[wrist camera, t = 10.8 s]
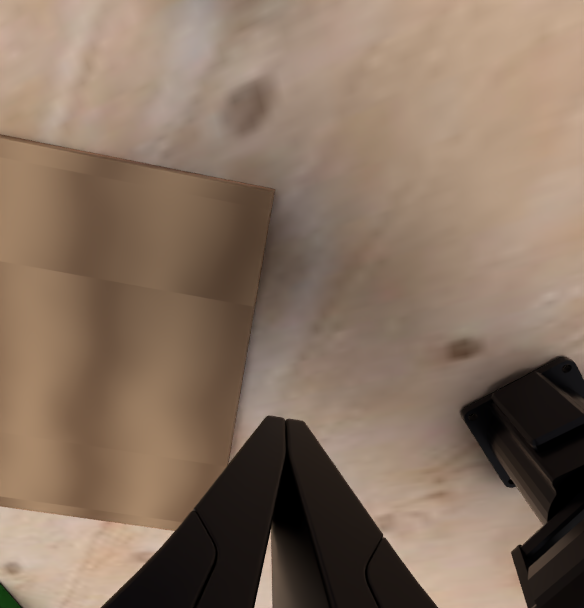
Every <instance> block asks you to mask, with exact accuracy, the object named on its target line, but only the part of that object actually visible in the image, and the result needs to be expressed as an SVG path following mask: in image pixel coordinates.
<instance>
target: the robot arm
mask: <svg viewBox="0 0 584 608" xmlns="http://www.w3.org/2000/svg"><path fill="white" fill-rule="evenodd" d="M564 365H566V367H565V368H564V369H562V368H563V366H564ZM473 413H474V415H473V416H471V417H469V415H470V414H473ZM461 416H462V418H463V420H464V421H465V423H466V424H467V426H468V427H469V429H470V431H471V432H472V434H473V435H474V437H475V439H476V440H477V442H478V443H479V445H480V447H481V448H482V450H483V451H484V453H485V454H486V456H487V458H488V459H489V461H490V462H491V464H492V466H493V467H494V469H495V470H496V472H497V474H498V475H499V477H500V478H501V480H502V481H503V483H504V484H505V485H506V486H507V487H509V488H513V487H517V488H518V490H519V491H520V492H521V494H522V495H523V497H524V498H525V500H526V501H527V503H528V504H529V505H530V507H531V508H532V510H533V511H534V513H535V514H536V516H537V517H538V518H539V520H540V521H541V523H542V524H543V527H541V528H540V529H539V530H538V531H537V532H536V533H535V534H534V535H533V536H532V537H531V538H530V539H528V540H527V541H526V542H525V543H524V544H523V545H518V546H517V547H516V548H515V549H514V550H513V551H512V552H511V554H512V558H513V561H514V564H515V567H516V571H517V574H518V577H519V581H520V584H521V587H522V590H523V594H524V597H525V600H526V604H527V607H528V608H584V380H583V378H582V376H581V374H580V371H579V369H578V367H577V365H576V364H575V362H574V361H572V360H571V359H569V358H567V357H561V358H558V359H556V360H554V361H552V362H550V363H548V364H547V365H545V366H543V367H541V368H539V369H537V370H535V371H533V372H531V373H529V374H528V375H526V376H524V377H522V378H520V379H518V380H516V381H514V382H512V383H510V384H508V385H507V386H505V387H503V388H501V389H499V390H497V391H495V392H493V393H491V394H489V395H488V396H486V397H484V398H482V399H480V400H478V401H476V402H474V403H472V404H470V405H469V406H467V407H465V408H464V409H463V410H462V412H461ZM510 478H511V479H510ZM270 530H271V556H272V604H273V608H438V607H437V606H436V604H435V603H434V602H433V601H432V599H431V598H430V597H429V596H428V594H427V593H426V592H425V591H424V589H423V588H422V587H421V586H420V584H419V583H418V582H417V581H416V579H415V578H414V577H413V575H412V574H411V573H410V571H409V570H408V569H407V567H406V566H405V564H404V563H403V562H402V560H401V559H400V558H399V556H398V555H397V554H396V552H395V551H394V549H393V548H392V546H391V545H390V543H389V542H388V541H387V539H386V538H383V534H382V532H381V531H380V529H379V528H378V527H377V525H376V524H375V522H374V521H373V519H372V518H371V517H370V515H369V514H368V512H367V511H366V509H365V508H364V507H363V505H362V504H361V502H360V501H359V499H358V498H357V496H356V495H355V494H354V492H353V491H352V489H351V488H350V486H349V485H348V484H347V482H346V481H345V479H344V478H343V476H342V475H341V474H340V472H339V471H338V469H337V468H336V466H335V465H334V464H333V462H332V461H331V459H330V458H329V456H328V455H327V453H326V452H325V451H324V449H323V448H322V446H321V445H320V443H319V442H318V441H317V439H316V438H315V436H314V435H313V433H312V432H311V431H310V429H309V428H308V426H307V425H306V423H305V422H304V421H301V420H294V419H286V421H285V419H284V418H282V417H275V416H267V417H266V418H265V419H264V420H263V421H262V423H261V424H260V425H259V426H258V428H257V429H256V430H255V431H254V433H253V434H252V435H251V436H250V438H249V439H248V440H247V441H246V443H245V444H244V445H243V447H242V448H241V449H240V450H239V452H238V453H237V454H236V455H235V457H234V458H233V459H232V460H231V462H230V463H229V464H228V465H227V467H226V468H225V469H224V471H223V472H222V473H221V474H220V476H219V477H218V478H217V479H216V481H215V482H214V483H213V484H212V486H211V487H210V488H209V489H208V491H207V492H206V493H205V494H204V496H203V497H202V498H201V500H200V501H199V502H198V503H197V505H196V506H195V507H194V509H193V511H191V512H190V513H189V514H188V516H187V517H186V518H185V519H184V521H183V522H182V523H181V524H180V526H179V527H178V528H177V529H176V530H175V532H174V533H173V534H172V535H171V536H170V537H169V539H168V540H167V541H166V542H165V543H164V544H163V546H162V547H161V548H160V549H159V550H158V551H157V552H156V553H155V554H154V555H153V556H152V557H151V558H150V559H149V560H148V561H147V562H146V563H145V564H144V565H143V567H142V568H141V569H140V570H139V571H138V572H137V573H136V574H135V575H134V576H133V577H132V578H131V579H130V580H128V581H127V582H126V583H125V584H124V585H123V586H122V587H121V588H120V589H119V590H118V591H117V592H116V593H115V594H114V595H113V596H112V597H111V598H110V599H109V600H108V601H107V602H106V603H105V604H104V605H103V606H102V607H101V608H254V606H255V601H256V596H257V592H258V587H259V582H260V577H261V573H262V568H263V563H264V559H265V554H266V549H267V545H268V540H269V535H270Z"/></svg>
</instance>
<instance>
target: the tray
mask: <svg viewBox="0 0 584 608" xmlns="http://www.w3.org/2000/svg"><path fill="white" fill-rule="evenodd" d="M274 192H275V189H271V188H266V187H261V186H256V185H251V184H246V183H241V182H236V181H231V180H226V179H221V178H216V177H211V176H206V175H201V174H196V173H191V172H186V171H181V170H176V169H171V168H166V167H161V166H156V165H151V164H146V163H141V162H136V161H131V160H126V159H121V158H115V157H110V156H105V155H100V154H95V153H90V152H85V151H80V150H75V149H70V148H65V147H60V146H55V145H50V144H45V143H40V142H35V141H30V140H25V139H20V138H15V137H10V136H5V135H0V506H2V507H9V508H16V509H23V510H30V511H37V512H44V513H51V514H59V515H66V516H73V517H80V518H87V519H94V520H101V521H108V522H115V523H123V524H130V525H137V526H144V527H151V528H158V529H165V530H172V531H175V530H176V529H177V528H178V527H179V526H180V524H181V523H182V522H183V521H184V519H185V518H186V517H187V516H188V514H189V513H190V512H191V511H193V509H194V507H195V506H196V505H197V503H198V502H199V501H200V500H201V498H202V497H203V496H204V494H205V493H206V492H207V491H208V489H209V488H210V487H211V486H212V484H213V483H214V482H215V481H216V479H217V478H218V477H219V476H220V474H221V473H222V472H223V471H224V469H225V468H226V467H227V465H228V462H229V456H230V450H231V444H232V438H233V432H234V427H235V421H236V415H237V409H238V403H239V397H240V391H241V386H242V380H243V374H244V368H245V362H246V356H247V351H248V345H249V339H250V333H251V327H252V321H253V315H254V310H255V304H256V298H257V292H258V286H259V280H260V274H261V269H262V263H263V257H264V251H265V245H266V239H267V233H268V228H269V222H270V216H271V210H272V204H273V198H274Z"/></svg>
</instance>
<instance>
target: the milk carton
mask: <svg viewBox="0 0 584 608" xmlns="http://www.w3.org/2000/svg"><path fill="white" fill-rule="evenodd" d="M0 608H21V607H20V606H19V604H18V603H17V602H16V601H15V600H14V599H13V598H12V596H11V595H10V594H9V593H8V592H7V591H6V590H5V589H4V587H3V586H2V585H1V584H0Z"/></svg>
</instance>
